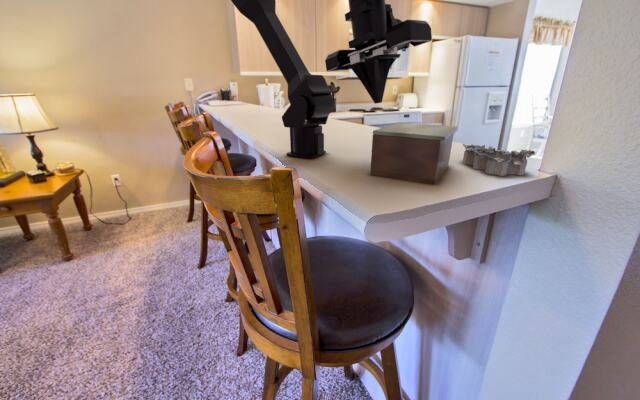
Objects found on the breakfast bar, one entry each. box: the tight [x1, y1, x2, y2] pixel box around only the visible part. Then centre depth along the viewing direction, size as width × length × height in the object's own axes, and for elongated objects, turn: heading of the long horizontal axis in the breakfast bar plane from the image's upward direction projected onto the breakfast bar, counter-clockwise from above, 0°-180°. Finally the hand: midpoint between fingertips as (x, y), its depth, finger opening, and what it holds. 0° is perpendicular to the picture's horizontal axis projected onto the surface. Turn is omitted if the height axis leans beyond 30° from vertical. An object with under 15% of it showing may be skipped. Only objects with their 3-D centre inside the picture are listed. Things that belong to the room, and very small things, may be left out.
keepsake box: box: [369, 132, 455, 185], centre depth 51 cm, size 10×12×7 cm
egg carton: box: [461, 143, 536, 177], centre depth 52 cm, size 11×8×4 cm
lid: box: [372, 122, 459, 141], centre depth 49 cm, size 11×12×1 cm
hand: (378, 103), depth 51 cm, fingers closed
